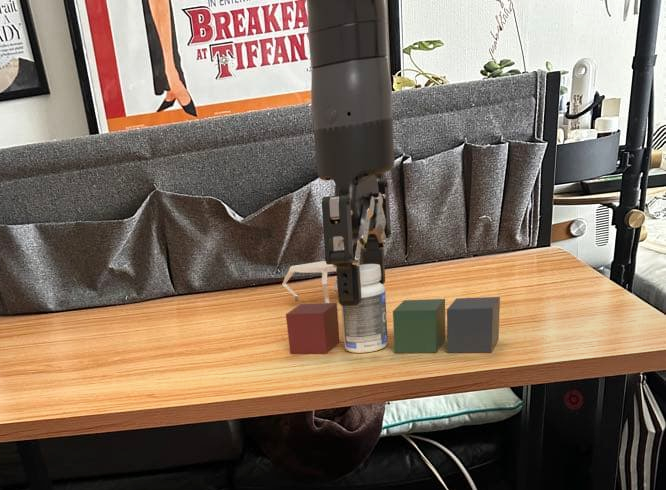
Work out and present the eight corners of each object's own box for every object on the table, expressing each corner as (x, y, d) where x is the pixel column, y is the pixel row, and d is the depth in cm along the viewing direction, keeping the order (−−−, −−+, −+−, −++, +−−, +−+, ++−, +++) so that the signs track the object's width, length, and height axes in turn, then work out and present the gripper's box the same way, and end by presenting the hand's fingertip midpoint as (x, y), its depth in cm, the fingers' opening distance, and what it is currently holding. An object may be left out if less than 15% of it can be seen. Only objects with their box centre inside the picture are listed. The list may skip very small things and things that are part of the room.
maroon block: (339, 341, 83) (336, 302, 80) (326, 353, 79) (323, 313, 77) (304, 342, 84) (300, 303, 82) (290, 353, 81) (285, 314, 79)
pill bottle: (394, 348, 77) (390, 266, 73) (352, 356, 77) (346, 274, 73) (379, 338, 82) (375, 260, 77) (339, 346, 81) (333, 268, 77)
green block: (445, 340, 78) (445, 298, 75) (436, 353, 74) (435, 309, 72) (405, 341, 79) (403, 300, 77) (394, 353, 76) (392, 310, 74)
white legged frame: (368, 289, 105) (366, 253, 102) (363, 302, 98) (361, 264, 95) (287, 296, 107) (283, 262, 105) (277, 310, 100) (272, 274, 98)
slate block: (498, 339, 75) (499, 296, 73) (491, 352, 72) (492, 307, 70) (455, 340, 77) (456, 298, 75) (446, 352, 74) (446, 309, 72)
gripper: (368, 118, 61) (378, 311, 70) (410, 110, 72) (415, 278, 80) (287, 130, 65) (306, 313, 73) (339, 121, 75) (350, 281, 84)
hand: (363, 294), depth 77 cm, fingers open, 8 cm apart
